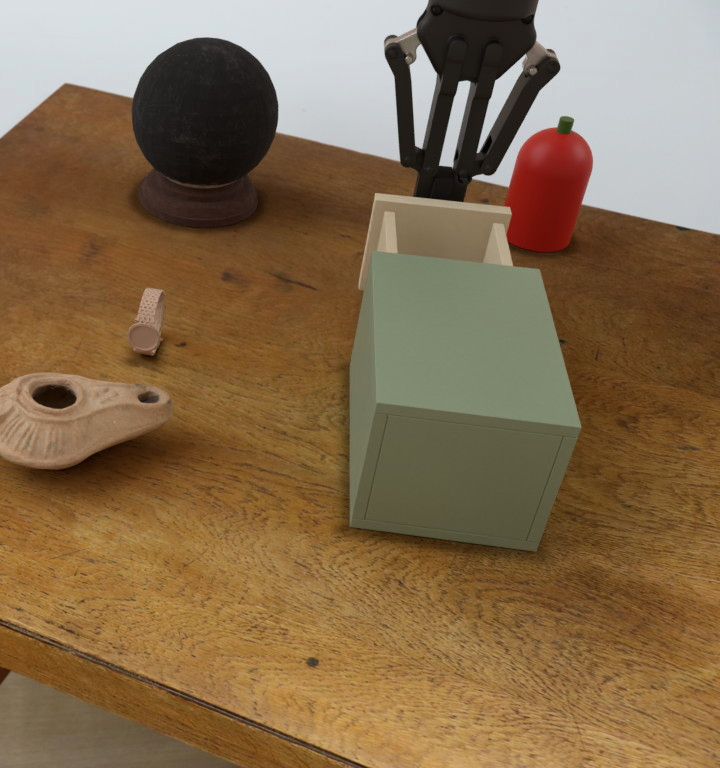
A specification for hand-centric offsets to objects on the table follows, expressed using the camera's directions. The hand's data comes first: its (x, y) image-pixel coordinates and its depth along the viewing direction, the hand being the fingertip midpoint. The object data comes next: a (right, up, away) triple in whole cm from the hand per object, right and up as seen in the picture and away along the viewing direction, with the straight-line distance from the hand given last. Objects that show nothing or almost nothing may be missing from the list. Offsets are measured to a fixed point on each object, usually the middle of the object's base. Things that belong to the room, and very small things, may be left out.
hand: (427, 244), depth 91 cm
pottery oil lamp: (-28, -16, -16) cm, 36 cm away
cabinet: (-3, -16, -15) cm, 22 cm away
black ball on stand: (-18, +6, +13) cm, 23 cm away
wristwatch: (-23, -9, -6) cm, 25 cm away
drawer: (-1, -7, -4) cm, 8 cm away
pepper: (+12, +2, +10) cm, 16 cm away
